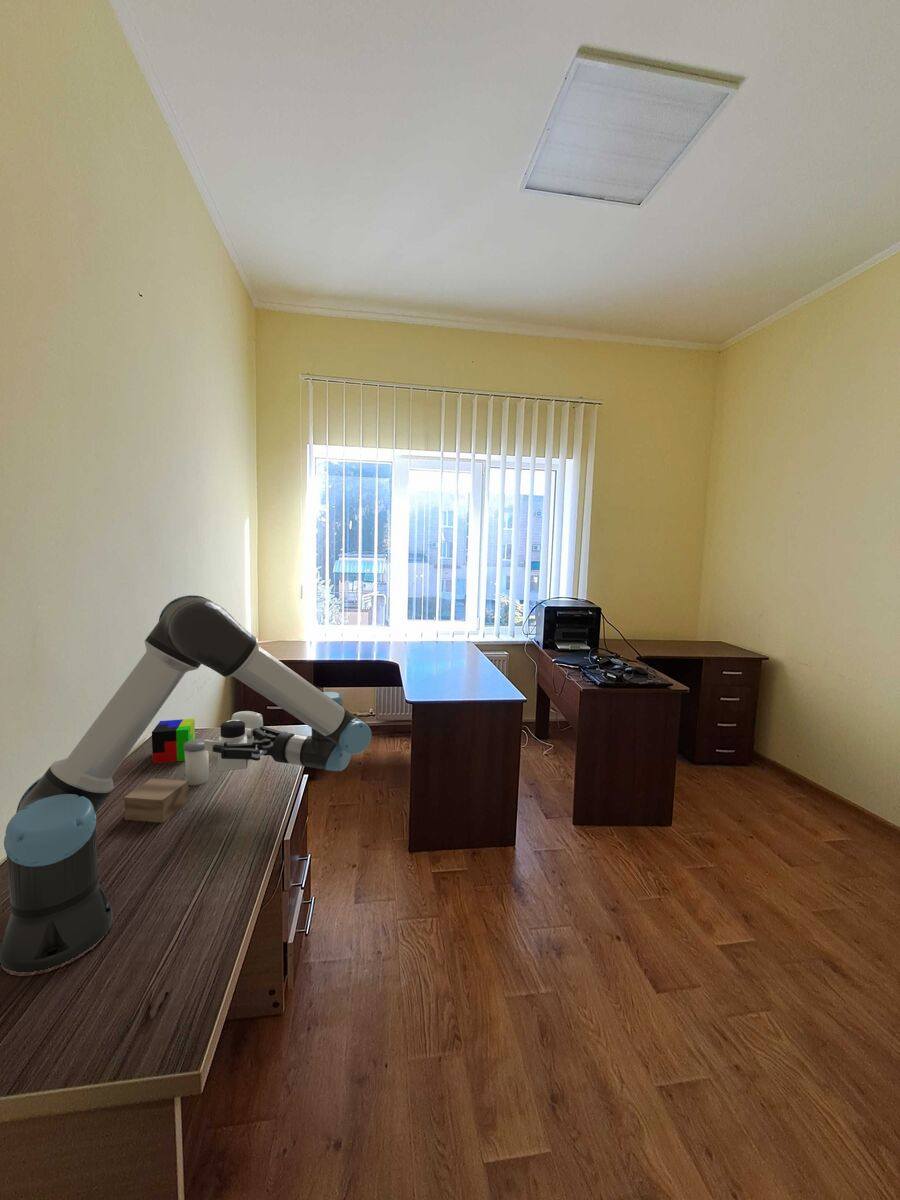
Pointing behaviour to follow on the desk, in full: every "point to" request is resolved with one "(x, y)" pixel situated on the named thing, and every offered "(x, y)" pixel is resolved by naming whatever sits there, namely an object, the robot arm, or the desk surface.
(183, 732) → the puzzle toy
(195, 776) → the plastic jar
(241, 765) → the medicine bottle
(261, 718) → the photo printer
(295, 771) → the desk surface
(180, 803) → the walnut block
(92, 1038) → the desk surface
